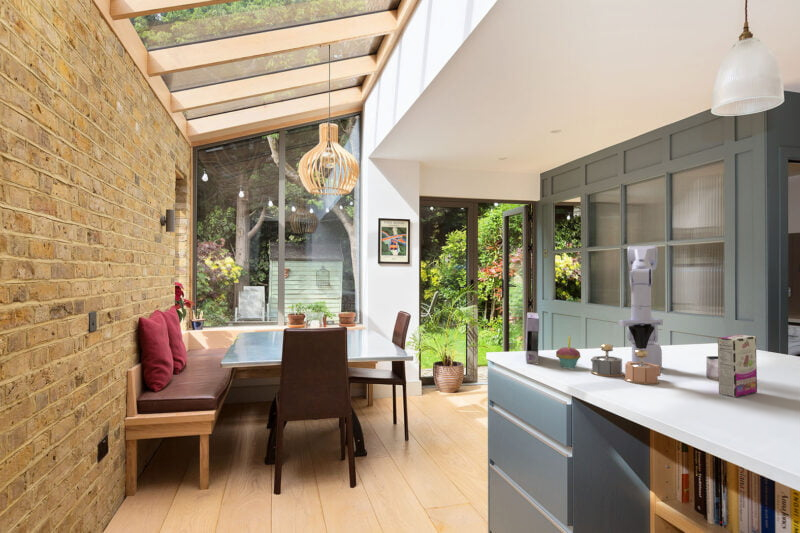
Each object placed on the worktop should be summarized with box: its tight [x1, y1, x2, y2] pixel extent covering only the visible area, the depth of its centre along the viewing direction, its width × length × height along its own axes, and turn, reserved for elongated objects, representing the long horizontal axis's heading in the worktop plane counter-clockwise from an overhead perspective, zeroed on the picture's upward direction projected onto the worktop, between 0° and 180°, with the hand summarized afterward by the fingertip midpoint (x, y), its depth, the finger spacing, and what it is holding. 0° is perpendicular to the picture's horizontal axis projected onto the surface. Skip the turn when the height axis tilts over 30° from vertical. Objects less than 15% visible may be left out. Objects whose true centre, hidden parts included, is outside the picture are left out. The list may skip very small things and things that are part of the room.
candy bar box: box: [717, 334, 758, 398], centre depth 144 cm, size 11×5×16 cm, turn 117°
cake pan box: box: [525, 312, 540, 364], centre depth 196 cm, size 19×5×18 cm, turn 166°
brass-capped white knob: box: [633, 350, 650, 367], centre depth 160 cm, size 5×5×5 cm
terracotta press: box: [623, 360, 661, 386], centre depth 160 cm, size 11×12×5 cm
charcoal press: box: [590, 355, 625, 378], centre depth 171 cm, size 11×12×5 cm
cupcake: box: [555, 334, 581, 369], centre depth 182 cm, size 9×8×12 cm
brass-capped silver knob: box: [599, 343, 615, 360], centre depth 171 cm, size 5×5×5 cm
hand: (641, 348), depth 160 cm, fingers closed
